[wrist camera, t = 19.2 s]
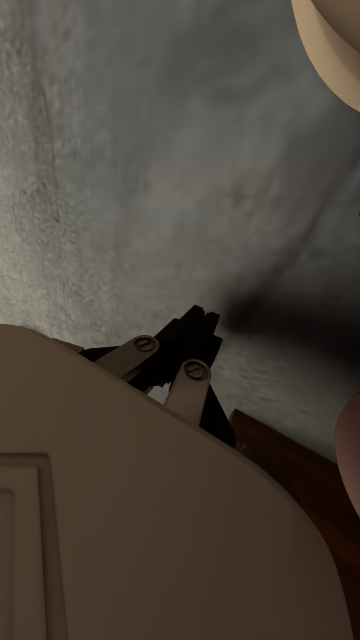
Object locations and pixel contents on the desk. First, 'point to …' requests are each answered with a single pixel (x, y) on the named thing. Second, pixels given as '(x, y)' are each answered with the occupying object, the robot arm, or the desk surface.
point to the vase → (333, 43)
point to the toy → (349, 449)
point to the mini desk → (314, 500)
